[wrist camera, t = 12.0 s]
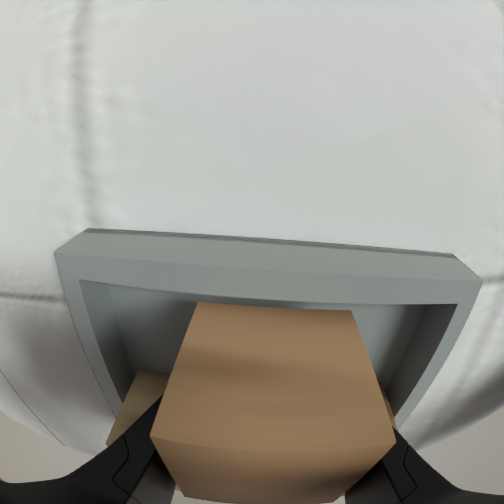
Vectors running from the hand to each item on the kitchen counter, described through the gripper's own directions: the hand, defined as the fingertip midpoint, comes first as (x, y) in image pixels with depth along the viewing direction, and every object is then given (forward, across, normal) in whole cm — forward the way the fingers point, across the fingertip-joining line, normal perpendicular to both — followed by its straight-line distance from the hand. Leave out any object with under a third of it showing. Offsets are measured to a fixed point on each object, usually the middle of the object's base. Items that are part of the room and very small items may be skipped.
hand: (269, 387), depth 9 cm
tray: (+4, 0, +3) cm, 5 cm away
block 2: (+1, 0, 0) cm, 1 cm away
